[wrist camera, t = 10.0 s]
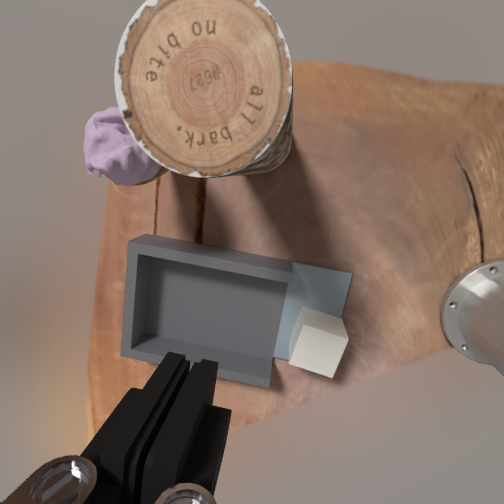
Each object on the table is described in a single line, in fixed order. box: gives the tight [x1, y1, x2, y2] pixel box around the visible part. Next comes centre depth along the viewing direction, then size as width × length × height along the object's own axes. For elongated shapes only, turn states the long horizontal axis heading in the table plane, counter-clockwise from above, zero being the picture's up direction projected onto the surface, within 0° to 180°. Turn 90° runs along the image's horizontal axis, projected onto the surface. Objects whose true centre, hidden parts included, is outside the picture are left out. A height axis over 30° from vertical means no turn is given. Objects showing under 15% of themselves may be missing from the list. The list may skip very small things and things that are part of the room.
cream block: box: [289, 306, 349, 378], centre depth 38 cm, size 5×5×5 cm
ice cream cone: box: [83, 107, 170, 186], centre depth 31 cm, size 7×6×15 cm
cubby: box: [121, 234, 352, 388], centre depth 39 cm, size 25×14×4 cm, turn 81°
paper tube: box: [115, 0, 293, 178], centre depth 24 cm, size 7×7×25 cm
